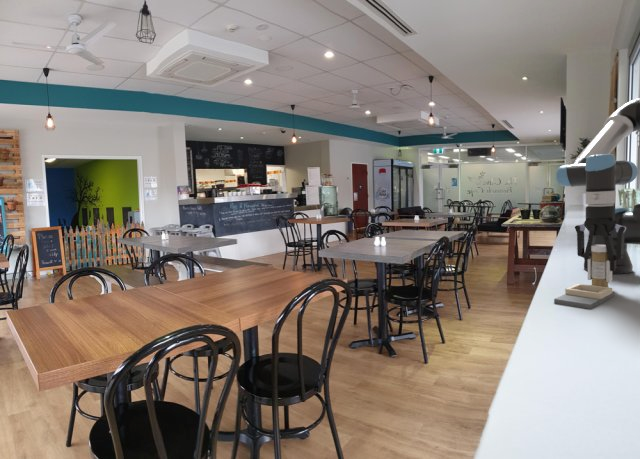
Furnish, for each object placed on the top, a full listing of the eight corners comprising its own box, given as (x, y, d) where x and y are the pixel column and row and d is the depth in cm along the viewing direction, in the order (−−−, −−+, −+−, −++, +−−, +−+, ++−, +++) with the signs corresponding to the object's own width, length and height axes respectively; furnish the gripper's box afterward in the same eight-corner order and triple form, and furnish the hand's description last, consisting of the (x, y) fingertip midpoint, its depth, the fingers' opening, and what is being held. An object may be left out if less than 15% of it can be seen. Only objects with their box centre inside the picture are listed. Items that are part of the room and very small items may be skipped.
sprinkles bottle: (597, 285, 133) (598, 243, 132) (612, 288, 129) (612, 245, 128) (587, 287, 132) (587, 245, 130) (601, 290, 127) (601, 246, 126)
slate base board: (579, 291, 128) (579, 282, 128) (614, 296, 121) (614, 287, 121) (554, 303, 117) (554, 293, 117) (590, 309, 110) (590, 298, 110)
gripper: (564, 206, 133) (564, 278, 135) (630, 205, 119) (629, 286, 121) (573, 204, 137) (574, 274, 139) (638, 204, 123) (637, 281, 126)
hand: (599, 279), depth 130 cm, fingers closed on sprinkles bottle, 4 cm apart
